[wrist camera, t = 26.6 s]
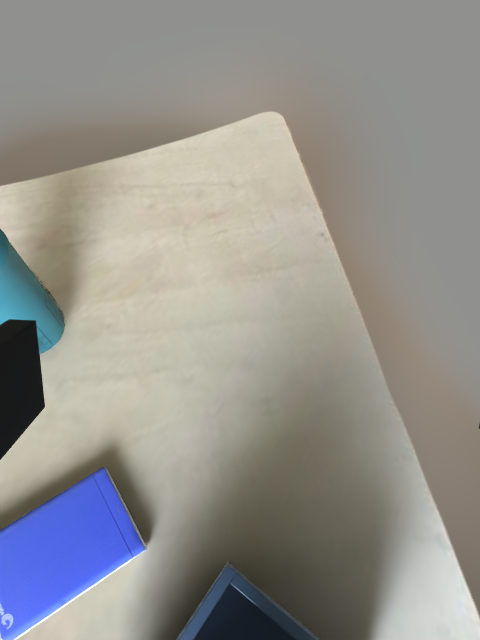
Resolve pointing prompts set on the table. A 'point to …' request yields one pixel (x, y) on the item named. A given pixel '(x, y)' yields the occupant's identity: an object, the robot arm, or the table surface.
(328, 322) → the table surface
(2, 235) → the beverage bottle
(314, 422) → the table surface
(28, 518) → the hard drive
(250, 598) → the blue open box
